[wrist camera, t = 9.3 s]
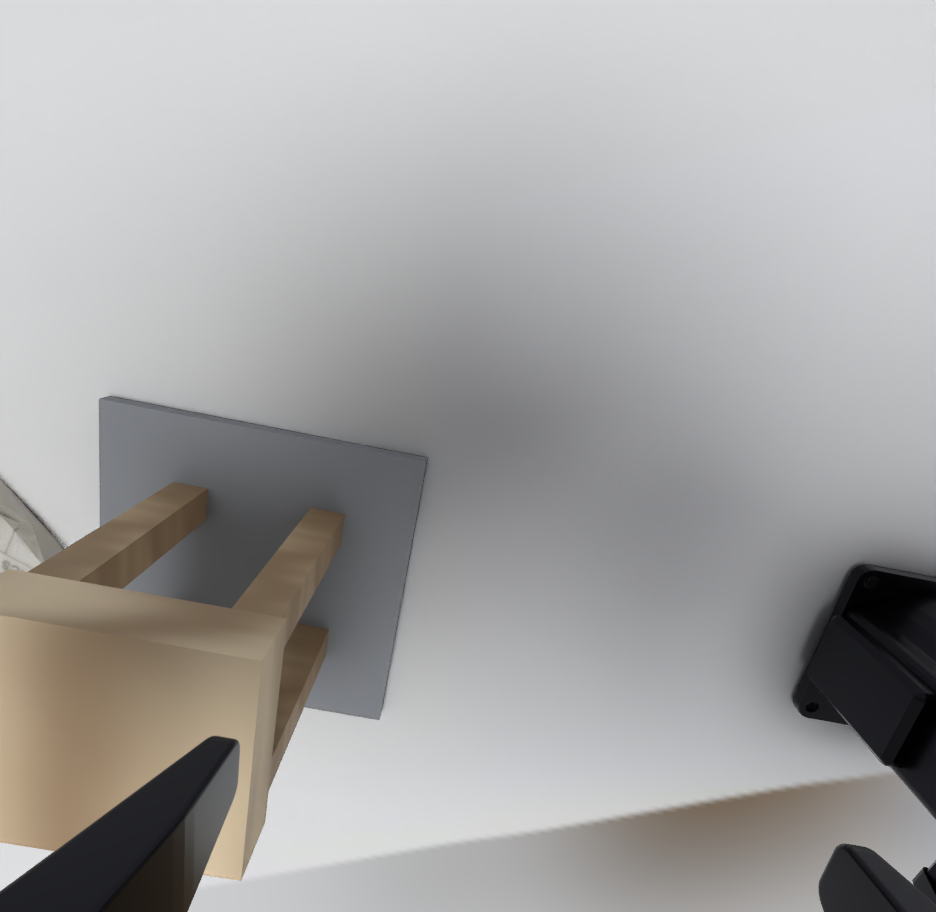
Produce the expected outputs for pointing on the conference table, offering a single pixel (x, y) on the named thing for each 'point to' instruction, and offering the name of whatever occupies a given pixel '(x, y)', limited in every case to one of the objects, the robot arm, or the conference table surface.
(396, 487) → the mat
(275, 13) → the conference table surface
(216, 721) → the stool
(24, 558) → the packaged product
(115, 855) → the robot arm
